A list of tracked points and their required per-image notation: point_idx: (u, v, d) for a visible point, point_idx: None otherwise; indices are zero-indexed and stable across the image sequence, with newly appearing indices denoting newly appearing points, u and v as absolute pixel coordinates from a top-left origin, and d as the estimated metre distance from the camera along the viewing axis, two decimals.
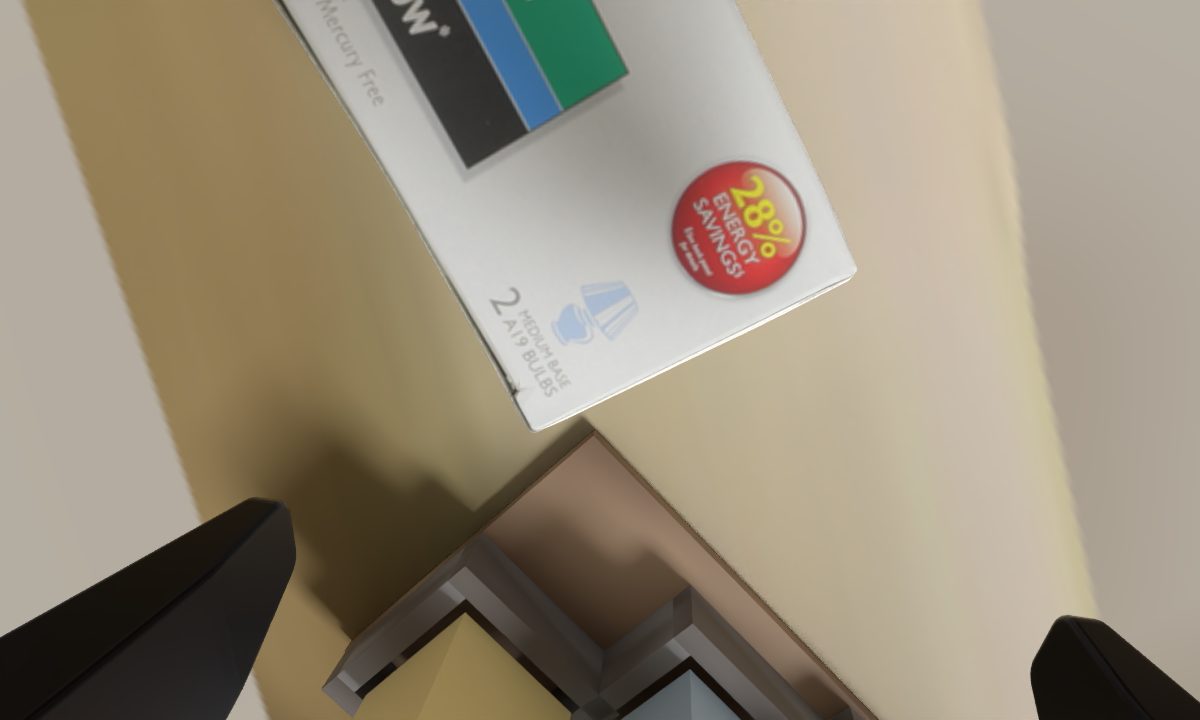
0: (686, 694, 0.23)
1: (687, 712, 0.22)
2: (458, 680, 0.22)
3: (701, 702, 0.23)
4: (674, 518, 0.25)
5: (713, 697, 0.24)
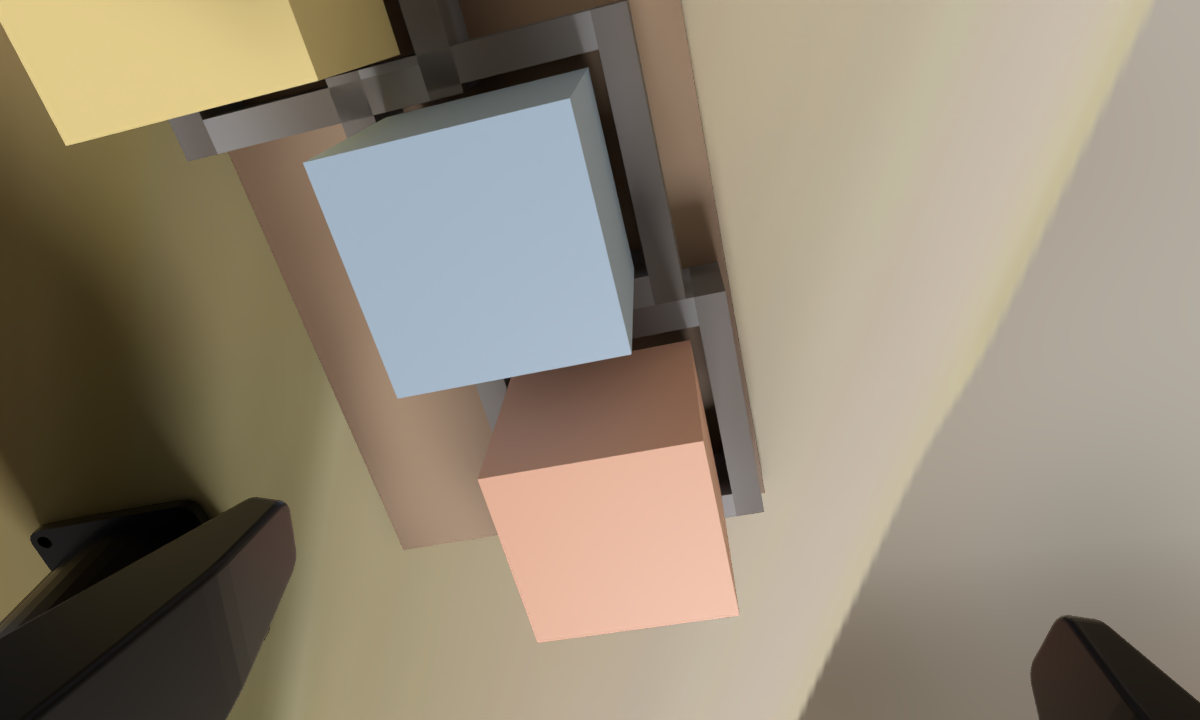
0: (577, 74, 0.16)
1: (575, 78, 0.15)
2: None
3: (590, 95, 0.16)
4: None
5: (599, 118, 0.17)
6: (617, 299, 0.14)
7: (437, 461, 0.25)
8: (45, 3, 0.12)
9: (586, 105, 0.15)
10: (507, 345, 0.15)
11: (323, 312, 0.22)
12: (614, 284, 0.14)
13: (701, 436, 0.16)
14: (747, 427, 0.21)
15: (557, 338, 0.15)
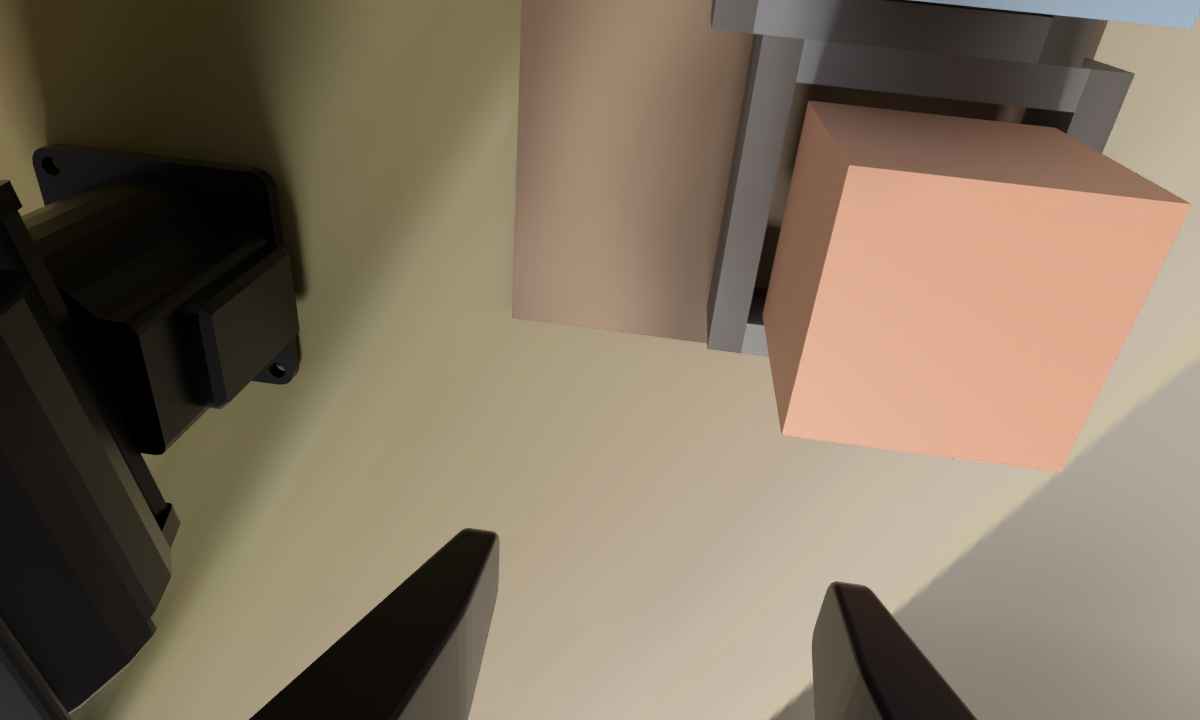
0: None
1: None
2: None
3: None
4: None
5: None
6: None
7: (606, 215, 0.19)
8: None
9: None
10: None
11: None
12: None
13: (1182, 200, 0.11)
14: None
15: None
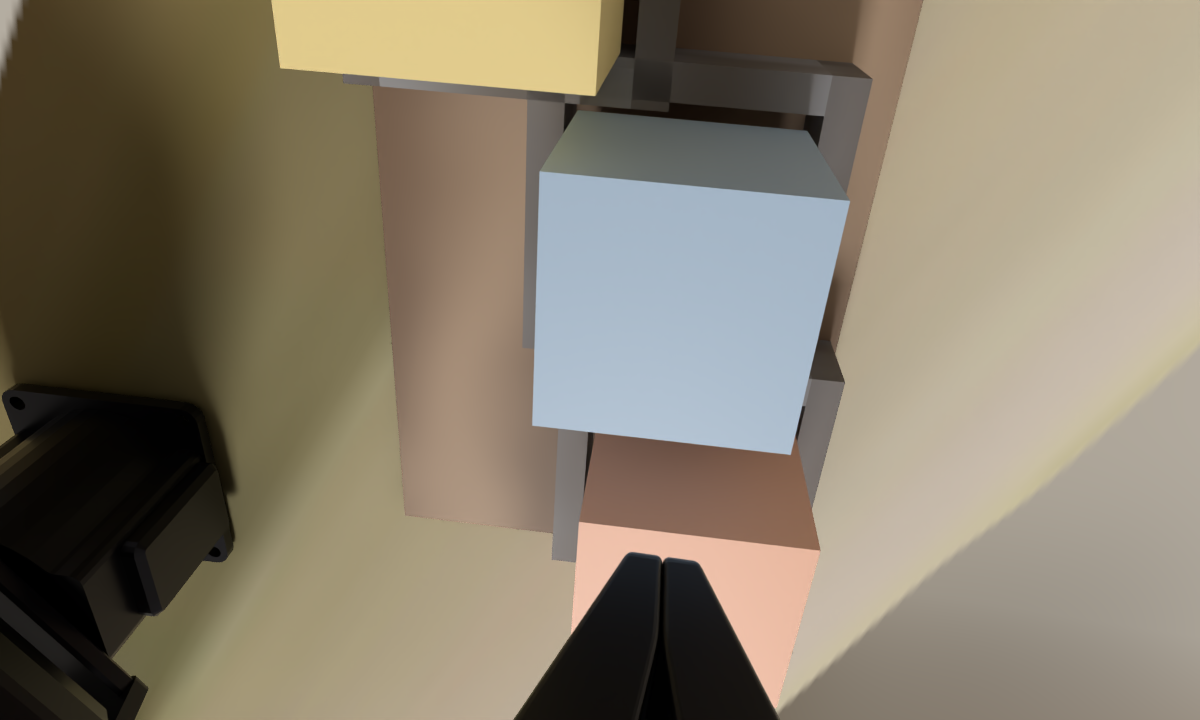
0: (806, 141, 0.15)
1: (812, 151, 0.14)
2: None
3: None
4: None
5: None
6: (802, 401, 0.13)
7: (473, 443, 0.24)
8: None
9: None
10: (670, 410, 0.14)
11: (412, 266, 0.21)
12: (805, 386, 0.13)
13: (817, 544, 0.15)
14: None
15: (724, 418, 0.14)
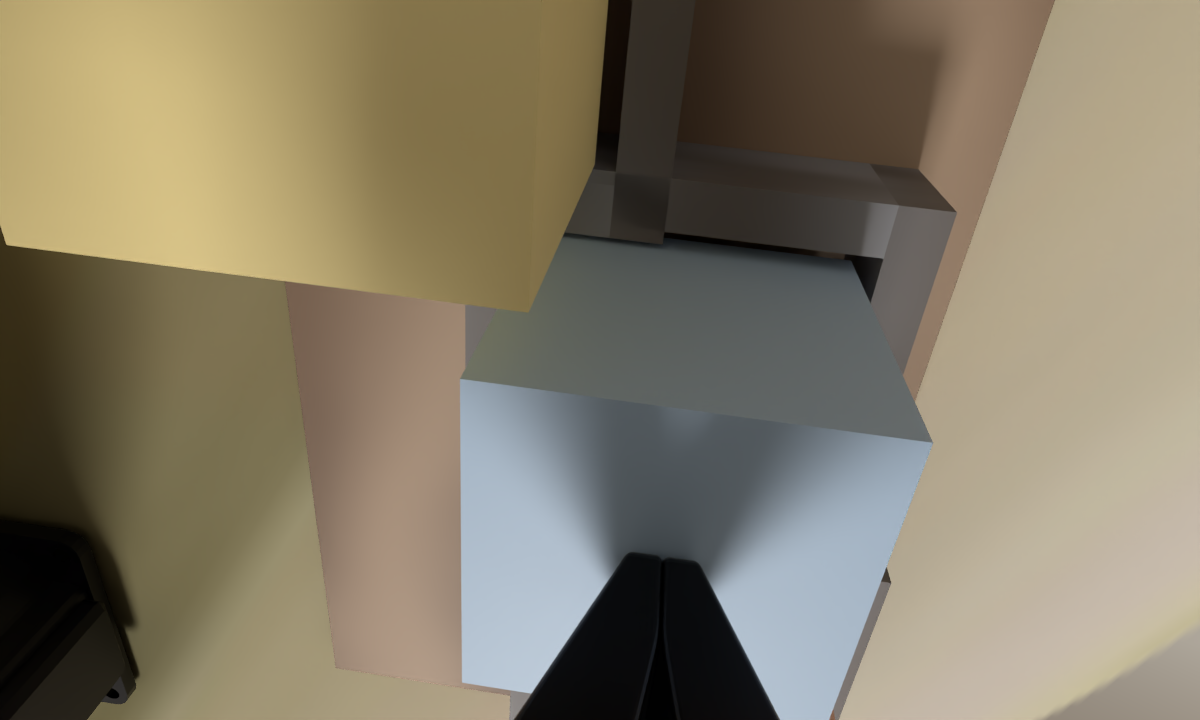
0: (852, 286, 0.11)
1: (863, 309, 0.10)
2: None
3: None
4: (1040, 37, 0.11)
5: None
6: (842, 682, 0.09)
7: (415, 596, 0.19)
8: None
9: None
10: None
11: (332, 395, 0.16)
12: (848, 664, 0.09)
13: None
14: None
15: None
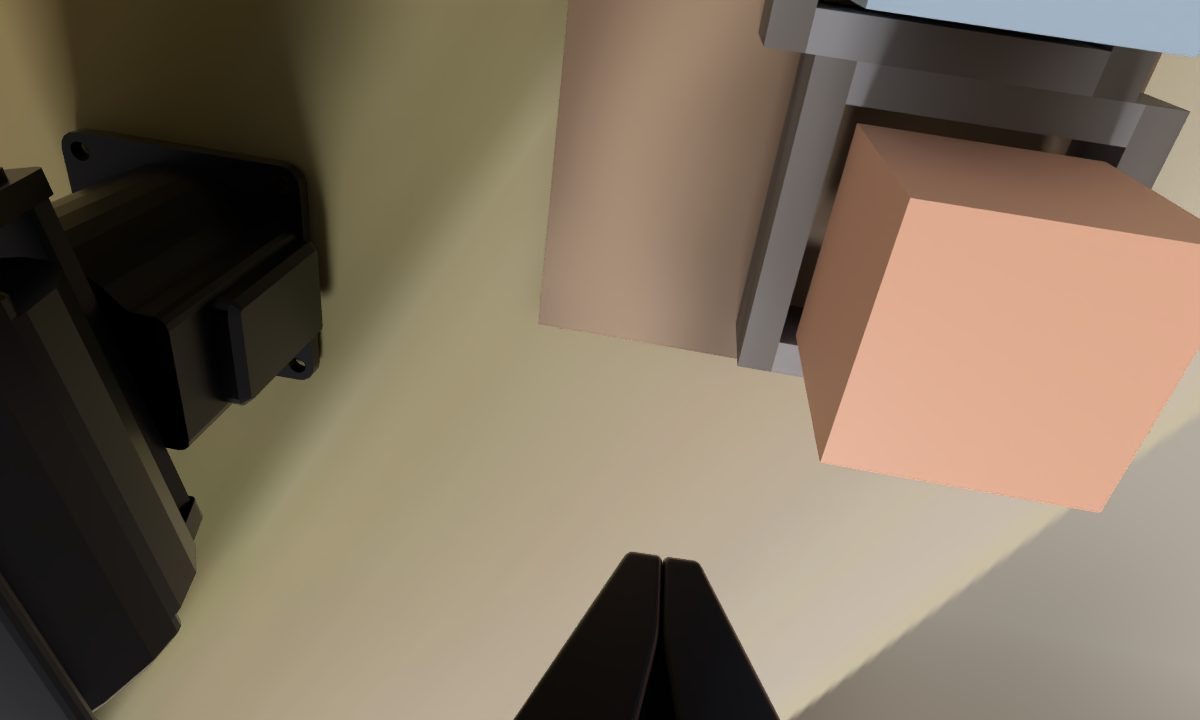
0: None
1: None
2: None
3: None
4: None
5: None
6: None
7: (640, 226, 0.19)
8: None
9: None
10: None
11: None
12: None
13: None
14: None
15: None
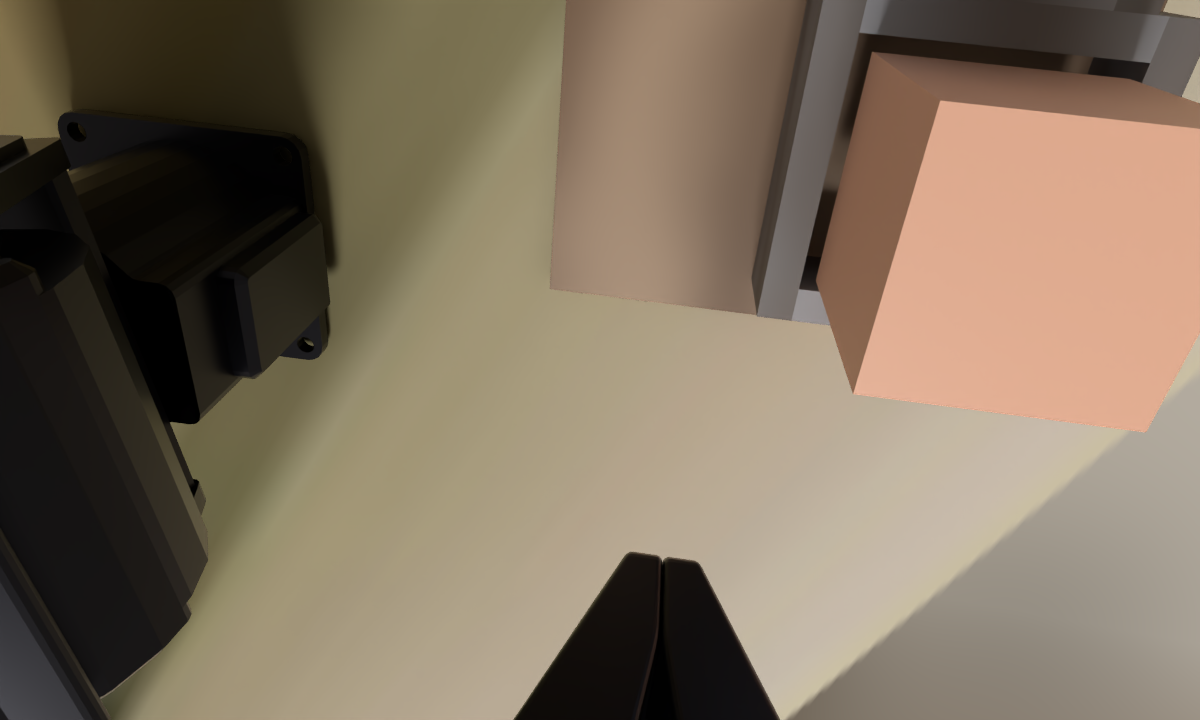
0: None
1: None
2: None
3: None
4: None
5: None
6: None
7: (650, 180, 0.19)
8: None
9: None
10: None
11: None
12: None
13: None
14: None
15: None
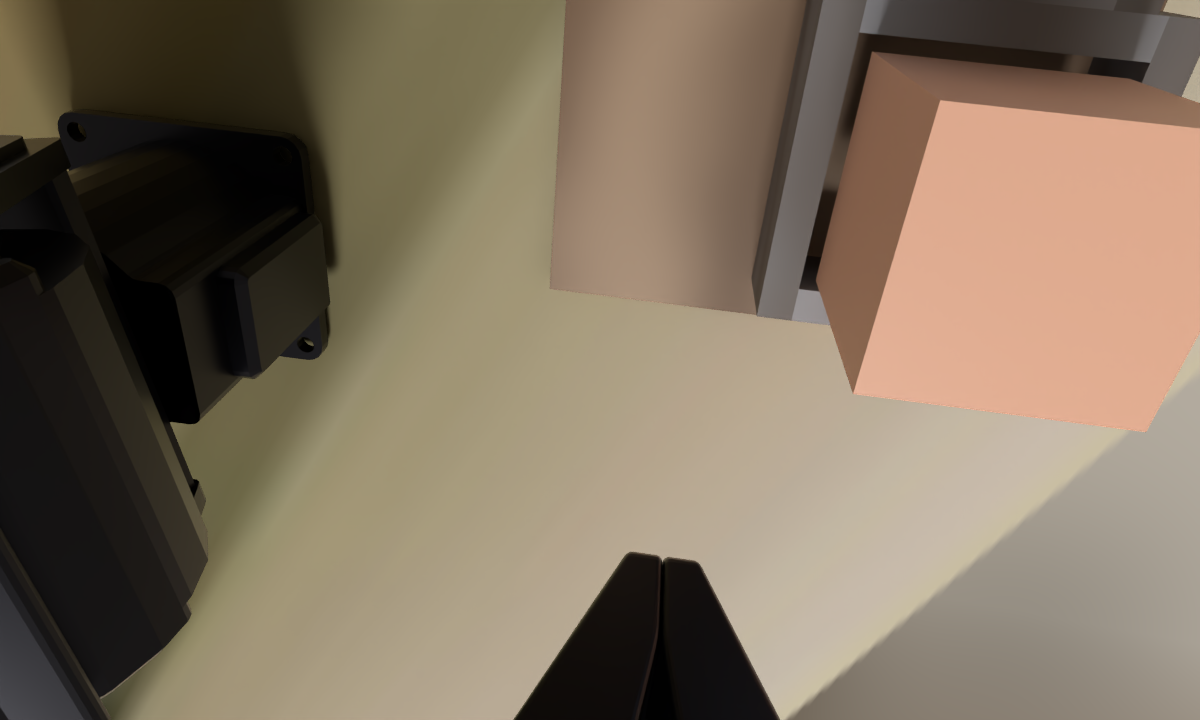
0: None
1: None
2: None
3: None
4: None
5: None
6: None
7: (650, 180, 0.19)
8: None
9: None
10: None
11: None
12: None
13: None
14: None
15: None
